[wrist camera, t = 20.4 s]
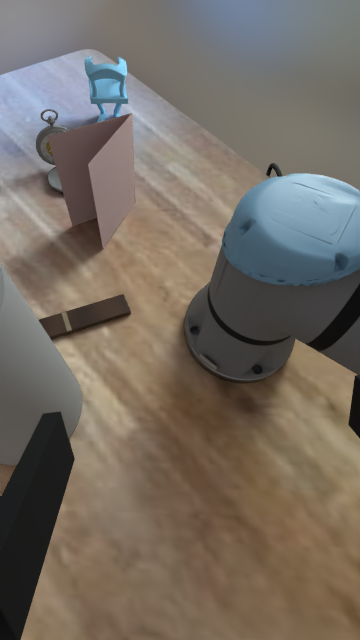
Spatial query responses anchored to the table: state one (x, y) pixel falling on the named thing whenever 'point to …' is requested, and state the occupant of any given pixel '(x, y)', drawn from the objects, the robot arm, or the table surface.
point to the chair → (107, 85)
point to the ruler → (85, 316)
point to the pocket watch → (49, 148)
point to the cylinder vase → (29, 375)
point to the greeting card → (97, 172)
